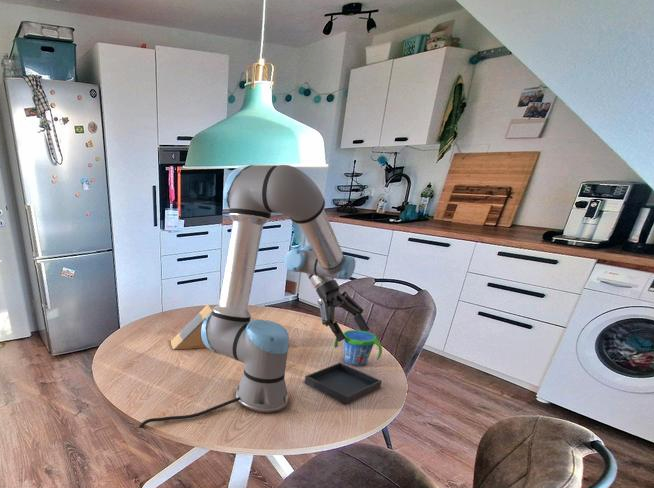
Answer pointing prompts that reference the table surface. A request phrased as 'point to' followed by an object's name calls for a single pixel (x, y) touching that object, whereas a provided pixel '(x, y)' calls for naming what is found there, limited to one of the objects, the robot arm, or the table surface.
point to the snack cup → (358, 346)
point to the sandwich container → (192, 332)
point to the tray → (343, 382)
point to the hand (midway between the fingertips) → (354, 335)
